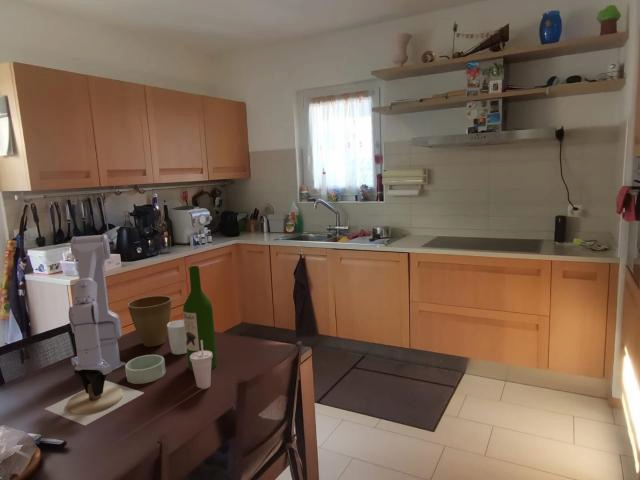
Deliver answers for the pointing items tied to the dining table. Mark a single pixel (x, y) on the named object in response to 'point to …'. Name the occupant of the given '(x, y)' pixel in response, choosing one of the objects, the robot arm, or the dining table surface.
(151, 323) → the plant pot
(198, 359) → the smoothie
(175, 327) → the white cup
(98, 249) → the robot arm
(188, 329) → the wine bottle
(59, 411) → the mat
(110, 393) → the lid
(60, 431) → the dining table surface
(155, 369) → the bowl
